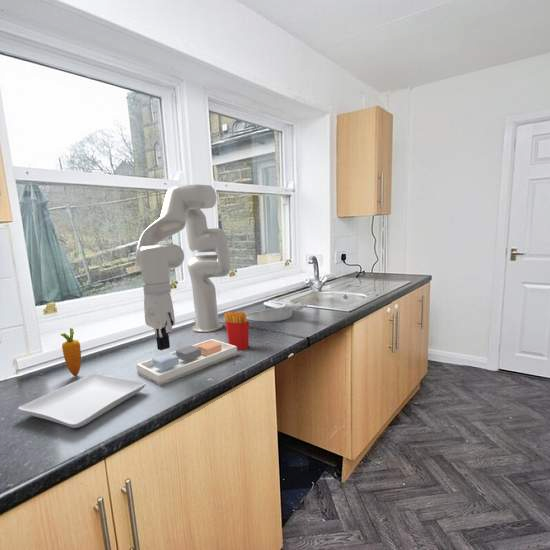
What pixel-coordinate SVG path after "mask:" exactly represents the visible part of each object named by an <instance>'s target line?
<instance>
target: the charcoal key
mask: <svg viewBox="0 0 550 550" xmlns="http://www.w3.org/2000/svg"><path fill="white" fill-rule="evenodd" d="M175 351H176V356H178V358H179V359H181V360H183V361H186V362H187V361H189V360H192V359H195V358H197V357H200V356H201V349H200V348H197V347H194V346H192V345H188V346H185V347H182V348H179V349H176V350H175Z"/></svg>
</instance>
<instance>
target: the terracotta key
mask: <svg viewBox="0 0 550 550" xmlns="http://www.w3.org/2000/svg"><path fill="white" fill-rule="evenodd" d="M198 348H200V349H201V354H203V355H205V356H209V355H212V354H215V353H217V352H220V351H222V349H221V344H218V343H215V342H212V341H211V342H208V343H205V344H202V345H199V346H198Z"/></svg>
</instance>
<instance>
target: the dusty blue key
mask: <svg viewBox="0 0 550 550" xmlns="http://www.w3.org/2000/svg"><path fill="white" fill-rule="evenodd" d="M151 359H152V361H153V366H154V367H156V368H158V369H160V370H165V369H168V368H170V367H173V366H176V365H178V364H179V358H178V356H176V355H173V354H171V352H168V353H164V354H162V355H161V354H160V355H159V356H155V357H152V358H151Z"/></svg>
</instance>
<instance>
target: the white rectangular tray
mask: <svg viewBox="0 0 550 550" xmlns="http://www.w3.org/2000/svg"><path fill="white" fill-rule="evenodd" d="M211 341H212V342H215V343H218V344H221V349H222V351H220V352H217V353H215V354H212V355H209V356H205V355H203V354H201V356H200V357H197V358H195V359H192V360H189V361H187V362H186V361H183V360H181V359H179V364H178V365H176V366H173V367H170V368H168V369H165V370H160V369H158V368H156V367H154V366H153V361H152V358H151V359H148V360H145V361H144V360H143V361H142V362H138V363H136V370H137V372H136V373H137V374H138V375H139V376H142V377H143V378H144V379H147V380H148V381H150V382H151V383H154V384H156V385H158V386H159V387H160V386H163V385H166V384H168V383H171V382H173V381H176V380H178V379H181V378H184V377H185V375H186V376H188V375H191V374H194V373H196V372H198V371H201V370H204V369H205V368H207V367H208V368H209V367H211V366H213V365H215V364H218V363H221V362H224V361H225V360H228V359H231V358H233V357H236V356H238V350H237V346H234V345H231V344H229V342H228V343H226V342H223V341H221V340H217V339H215V338H210V339H207V340H204V341H200V342H198V343H196V344H192V345H191V346H194V347H197V348H198V346H199V345H202V344H205V343H208V342H211ZM170 353H171V354H173V355H176V350H175V351H171V352H170ZM180 377H181V378H180ZM170 381H171V382H170ZM165 383H166V384H165Z"/></svg>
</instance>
